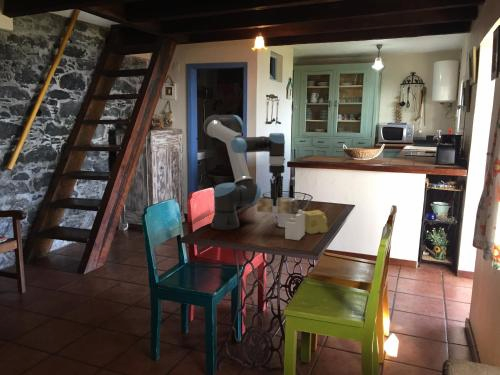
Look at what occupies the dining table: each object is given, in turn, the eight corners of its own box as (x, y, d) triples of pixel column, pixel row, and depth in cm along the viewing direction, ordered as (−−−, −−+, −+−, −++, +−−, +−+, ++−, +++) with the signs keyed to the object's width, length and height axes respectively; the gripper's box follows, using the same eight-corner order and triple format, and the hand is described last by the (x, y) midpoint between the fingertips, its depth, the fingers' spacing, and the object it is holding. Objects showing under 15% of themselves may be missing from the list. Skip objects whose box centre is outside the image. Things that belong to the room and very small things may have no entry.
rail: (256, 211, 212) (256, 199, 211) (259, 209, 216) (259, 198, 215) (295, 214, 204) (295, 201, 203) (297, 212, 208) (297, 200, 207)
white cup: (293, 228, 224) (293, 201, 221) (274, 227, 226) (274, 200, 223) (295, 223, 234) (295, 197, 231) (277, 223, 236) (277, 196, 234)
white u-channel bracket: (284, 238, 205) (284, 210, 202) (291, 233, 215) (291, 206, 212) (299, 240, 202) (299, 211, 200) (305, 234, 212) (305, 207, 210)
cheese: (327, 232, 216) (328, 213, 214) (308, 234, 212) (309, 215, 211) (317, 227, 225) (318, 209, 224) (299, 229, 222) (299, 211, 220)
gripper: (278, 166, 197) (278, 215, 201) (289, 163, 213) (289, 208, 216) (263, 166, 200) (263, 214, 203) (275, 162, 215) (275, 207, 219)
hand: (276, 211), depth 210 cm, fingers closed on rail, 4 cm apart
